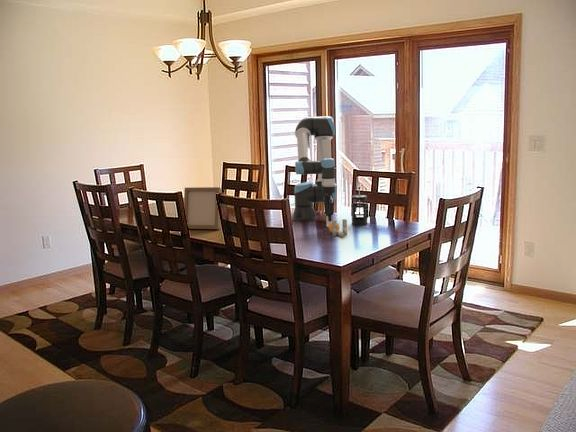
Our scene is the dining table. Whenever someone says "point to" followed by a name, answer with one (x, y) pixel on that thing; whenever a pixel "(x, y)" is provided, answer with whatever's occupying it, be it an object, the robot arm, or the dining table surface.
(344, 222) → the pin
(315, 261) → the dining table surface
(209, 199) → the photo frame
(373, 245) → the dining table surface
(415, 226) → the dining table surface
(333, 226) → the pin
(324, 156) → the robot arm
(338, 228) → the ball
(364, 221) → the french press
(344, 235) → the pin front
